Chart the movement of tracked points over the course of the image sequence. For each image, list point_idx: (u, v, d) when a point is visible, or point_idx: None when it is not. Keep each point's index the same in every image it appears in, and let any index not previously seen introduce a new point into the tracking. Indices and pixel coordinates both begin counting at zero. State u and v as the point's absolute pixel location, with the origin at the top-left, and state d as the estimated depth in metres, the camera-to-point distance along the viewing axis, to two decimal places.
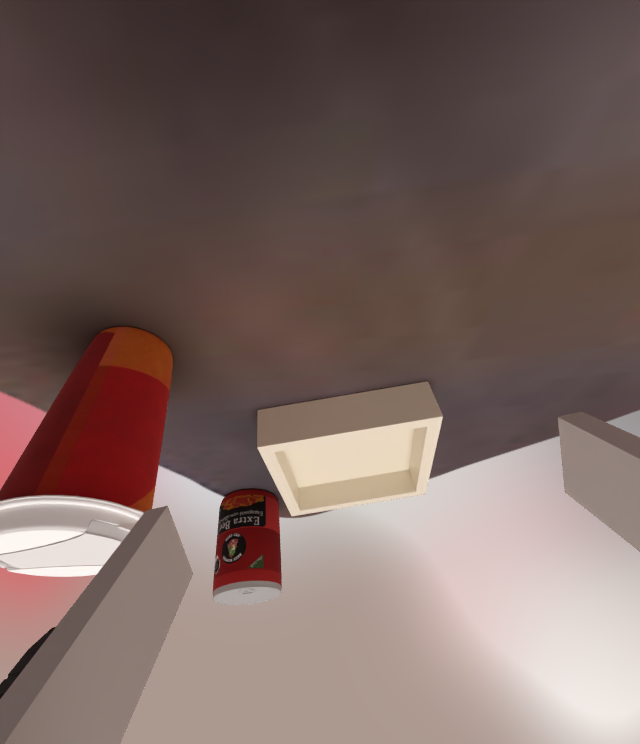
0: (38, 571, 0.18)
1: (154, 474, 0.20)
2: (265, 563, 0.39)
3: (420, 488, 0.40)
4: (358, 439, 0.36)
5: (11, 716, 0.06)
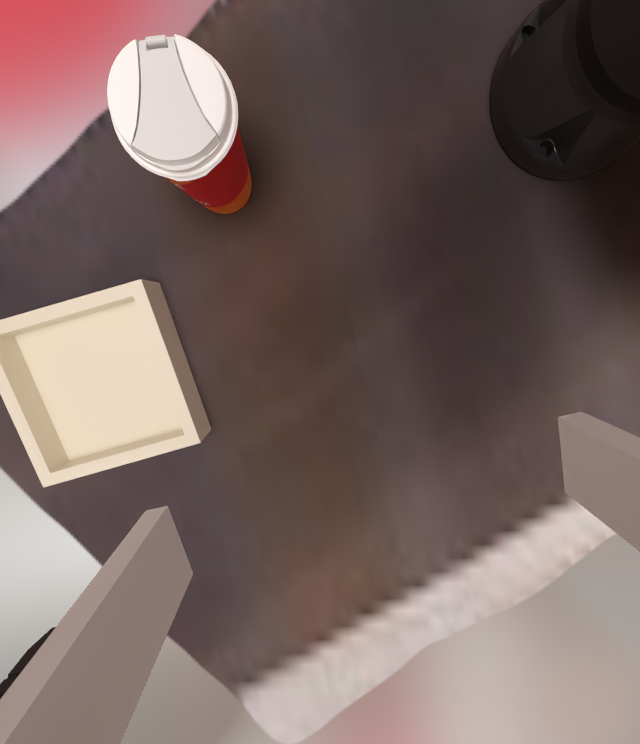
0: (128, 63, 0.20)
1: (194, 186, 0.25)
2: None
3: (60, 474, 0.34)
4: (128, 385, 0.36)
5: (11, 716, 0.06)
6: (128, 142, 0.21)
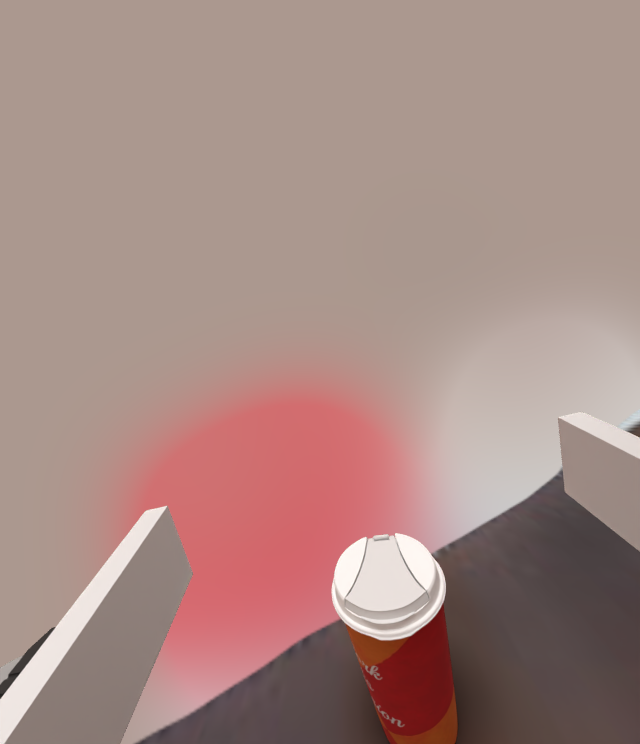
0: (358, 548, 0.26)
1: (394, 666, 0.22)
2: None
3: None
4: None
5: (11, 716, 0.06)
6: (342, 596, 0.22)
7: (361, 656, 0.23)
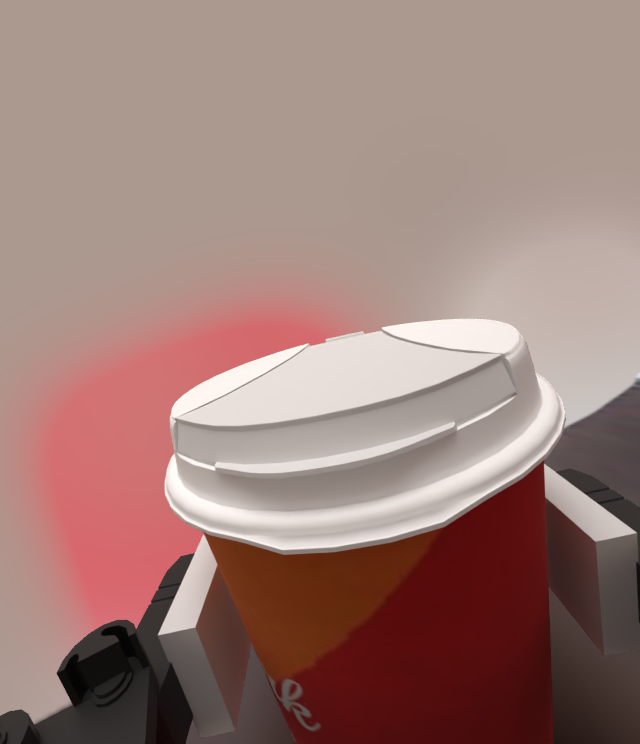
0: (280, 355, 0.10)
1: (362, 683, 0.05)
2: None
3: None
4: None
5: (194, 601, 0.07)
6: (173, 418, 0.06)
7: (254, 644, 0.07)
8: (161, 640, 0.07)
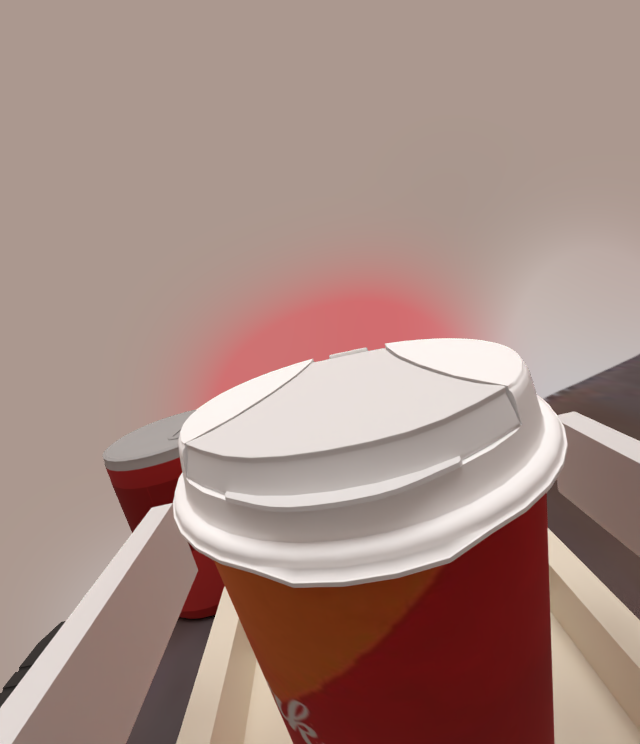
0: (284, 372, 0.10)
1: (368, 707, 0.05)
2: None
3: None
4: None
5: (25, 706, 0.06)
6: (182, 443, 0.06)
7: (260, 664, 0.07)
8: None
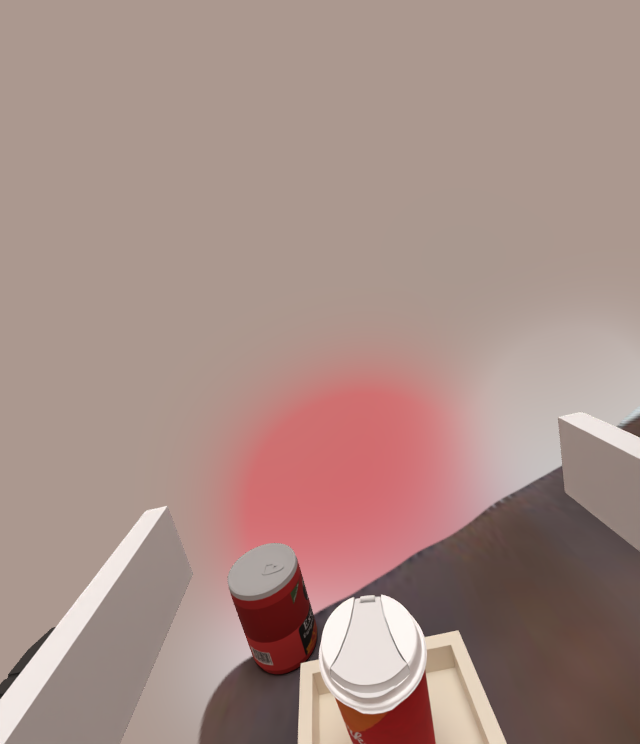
0: (345, 610, 0.27)
1: (376, 734, 0.23)
2: (289, 598, 0.38)
3: None
4: None
5: (11, 716, 0.06)
6: (328, 666, 0.23)
7: (346, 721, 0.24)
8: None
